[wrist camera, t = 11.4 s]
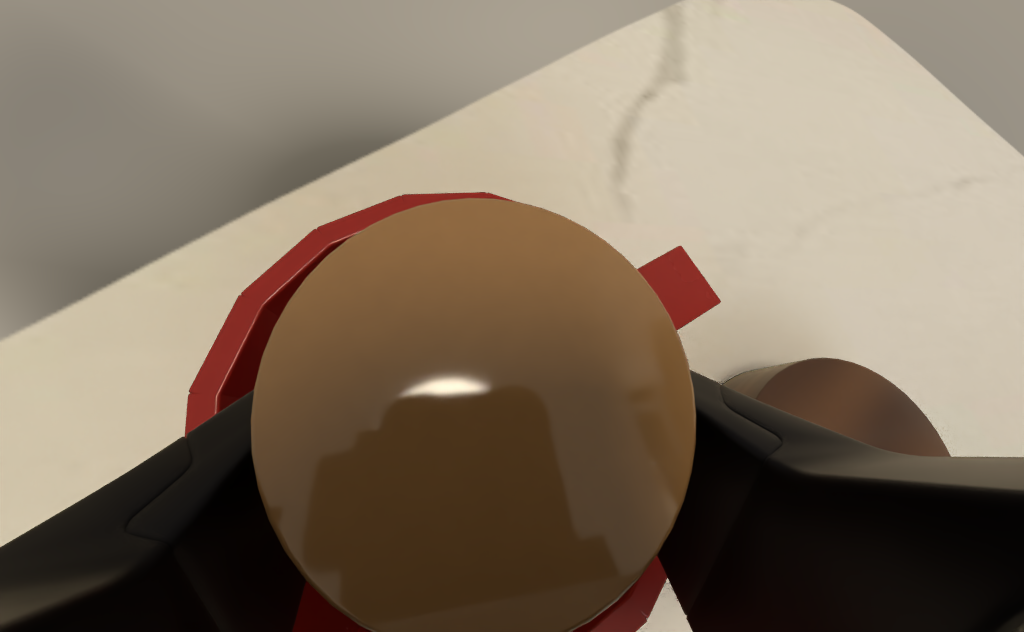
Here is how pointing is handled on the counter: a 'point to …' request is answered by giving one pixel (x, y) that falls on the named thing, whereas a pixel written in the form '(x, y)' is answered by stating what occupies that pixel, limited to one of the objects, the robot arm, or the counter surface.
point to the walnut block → (845, 403)
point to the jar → (473, 422)
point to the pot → (265, 299)
